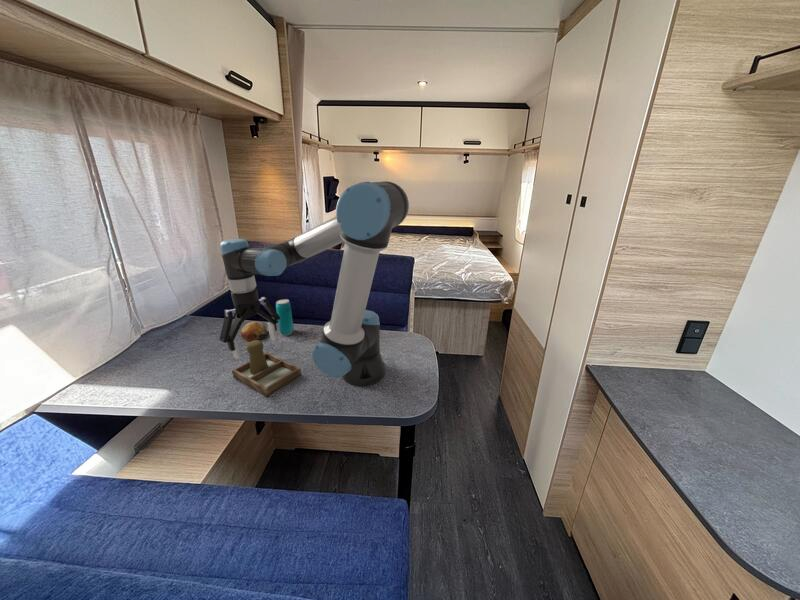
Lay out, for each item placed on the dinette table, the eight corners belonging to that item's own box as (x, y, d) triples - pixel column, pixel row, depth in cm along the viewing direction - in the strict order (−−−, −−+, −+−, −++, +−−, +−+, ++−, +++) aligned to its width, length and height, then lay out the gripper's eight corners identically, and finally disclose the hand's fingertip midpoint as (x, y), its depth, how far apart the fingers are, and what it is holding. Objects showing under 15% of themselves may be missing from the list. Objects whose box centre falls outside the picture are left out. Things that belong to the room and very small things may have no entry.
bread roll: (265, 336, 141) (260, 319, 140) (271, 336, 132) (266, 317, 132) (242, 343, 135) (236, 326, 134) (246, 343, 126) (240, 324, 126)
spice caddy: (301, 375, 108) (300, 368, 107) (266, 397, 97) (265, 389, 96) (268, 359, 117) (266, 352, 116) (233, 377, 107) (231, 370, 106)
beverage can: (296, 330, 138) (292, 299, 133) (290, 336, 133) (286, 304, 128) (283, 329, 139) (279, 298, 133) (277, 336, 134) (272, 303, 128)
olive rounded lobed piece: (272, 366, 111) (267, 339, 107) (260, 376, 106) (254, 348, 101) (258, 363, 113) (253, 336, 109) (245, 372, 107) (240, 345, 103)
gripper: (270, 277, 109) (280, 331, 117) (195, 299, 90) (213, 362, 98) (284, 280, 106) (293, 336, 113) (209, 305, 86) (226, 370, 94)
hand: (256, 348), depth 106 cm, fingers open, 13 cm apart
